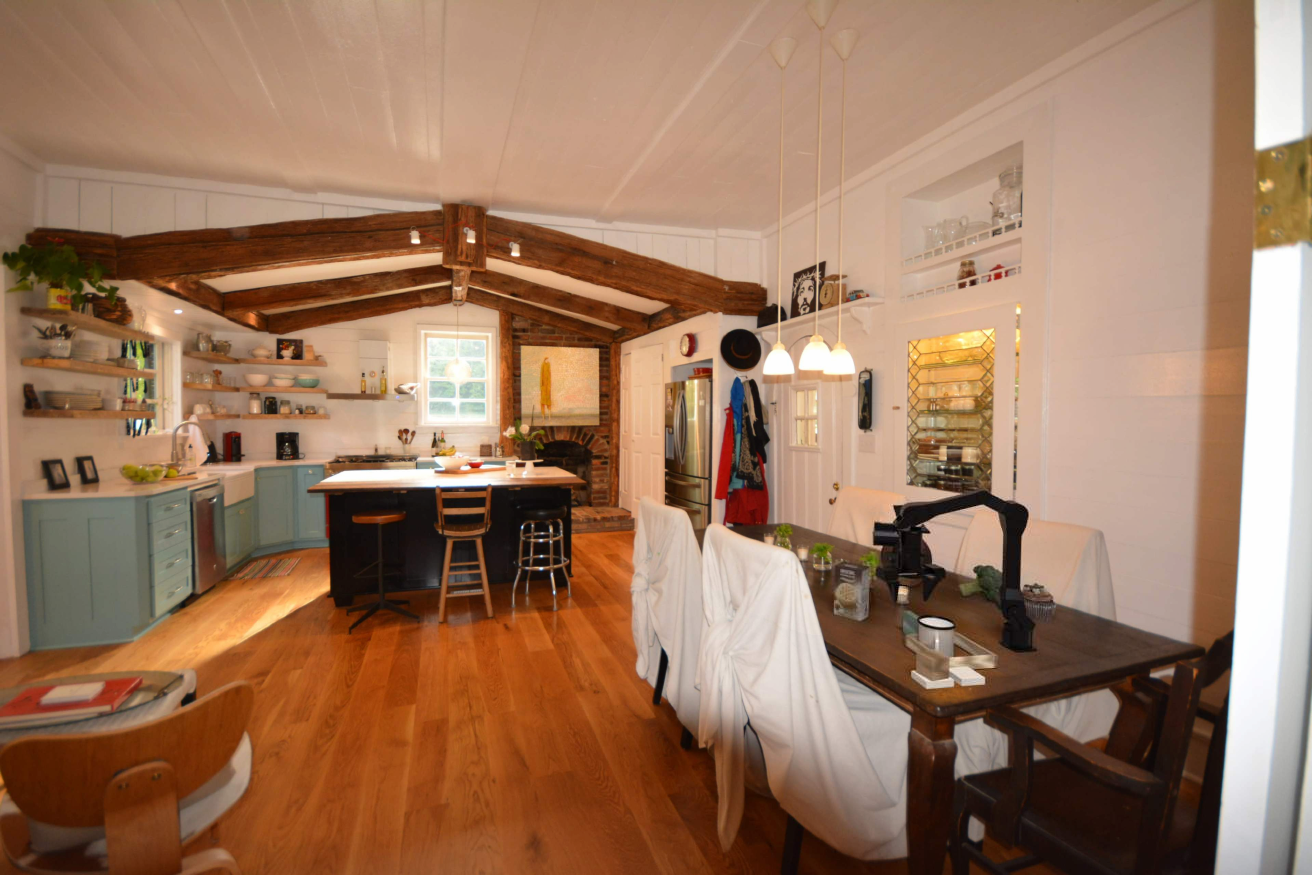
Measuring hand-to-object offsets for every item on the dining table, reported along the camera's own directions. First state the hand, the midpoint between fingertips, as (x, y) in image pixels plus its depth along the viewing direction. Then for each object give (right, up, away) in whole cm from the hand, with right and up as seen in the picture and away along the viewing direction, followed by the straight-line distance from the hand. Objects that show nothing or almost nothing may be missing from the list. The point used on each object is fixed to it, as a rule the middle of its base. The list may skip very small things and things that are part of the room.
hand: (909, 601), depth 165 cm
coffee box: (-11, -9, +17) cm, 23 cm away
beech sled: (+4, -10, -9) cm, 14 cm away
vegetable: (+40, -9, +34) cm, 53 cm away
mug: (+1, -11, -13) cm, 17 cm away
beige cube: (-7, -10, -27) cm, 30 cm away
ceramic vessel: (+21, -8, +51) cm, 55 cm away
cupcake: (+47, -9, +16) cm, 50 cm away
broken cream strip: (-2, -11, -27) cm, 29 cm away
